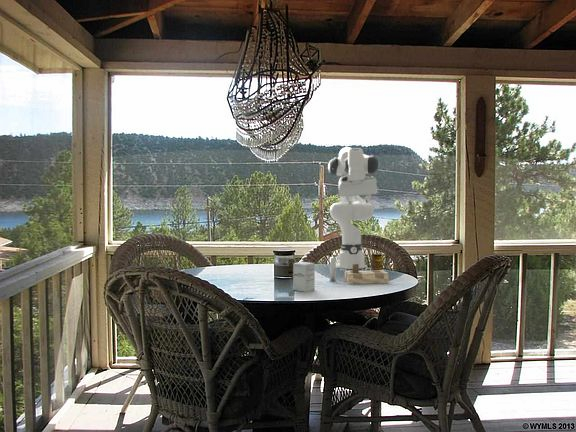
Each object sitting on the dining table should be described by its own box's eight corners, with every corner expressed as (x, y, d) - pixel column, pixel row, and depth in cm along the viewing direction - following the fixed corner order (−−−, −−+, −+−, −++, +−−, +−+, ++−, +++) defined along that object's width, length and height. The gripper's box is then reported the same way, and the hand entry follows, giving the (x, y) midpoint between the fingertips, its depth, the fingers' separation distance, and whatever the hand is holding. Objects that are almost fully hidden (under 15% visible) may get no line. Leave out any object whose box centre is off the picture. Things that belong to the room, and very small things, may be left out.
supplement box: (292, 290, 251) (292, 263, 251) (302, 288, 257) (302, 261, 256) (305, 292, 246) (305, 264, 246) (315, 289, 252) (315, 262, 252)
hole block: (344, 280, 277) (344, 271, 276) (383, 280, 279) (383, 270, 279) (348, 283, 268) (348, 273, 268) (388, 283, 270) (388, 273, 270)
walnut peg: (351, 281, 274) (351, 263, 274) (357, 281, 274) (357, 263, 274) (353, 282, 271) (353, 264, 271) (359, 282, 271) (359, 264, 271)
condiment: (385, 276, 290) (386, 254, 289) (373, 278, 285) (374, 255, 284) (376, 275, 296) (376, 253, 295) (364, 276, 291) (364, 254, 290)
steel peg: (329, 280, 278) (329, 257, 277) (335, 280, 278) (335, 257, 278) (330, 281, 275) (330, 257, 274) (336, 281, 275) (336, 257, 275)
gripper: (377, 176, 290) (379, 202, 289) (340, 180, 297) (342, 205, 296) (375, 175, 284) (376, 201, 283) (337, 179, 291) (338, 205, 291)
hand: (358, 203), depth 290 cm, fingers open, 8 cm apart
